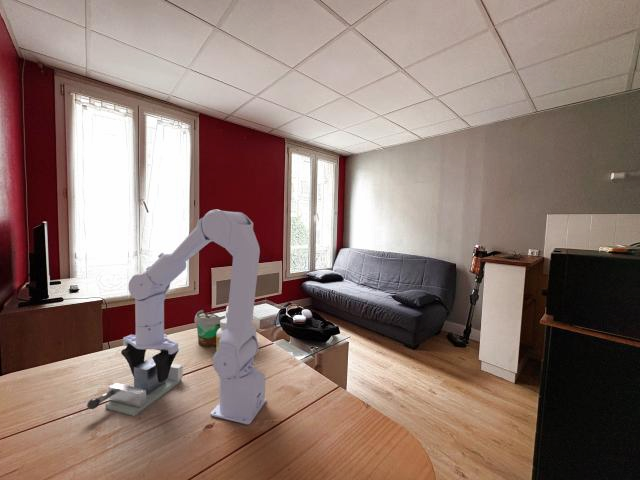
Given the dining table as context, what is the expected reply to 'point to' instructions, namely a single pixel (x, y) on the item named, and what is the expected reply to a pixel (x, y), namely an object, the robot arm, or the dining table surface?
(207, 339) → the food container
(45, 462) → the dining table surface
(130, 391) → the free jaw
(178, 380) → the base
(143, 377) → the block
